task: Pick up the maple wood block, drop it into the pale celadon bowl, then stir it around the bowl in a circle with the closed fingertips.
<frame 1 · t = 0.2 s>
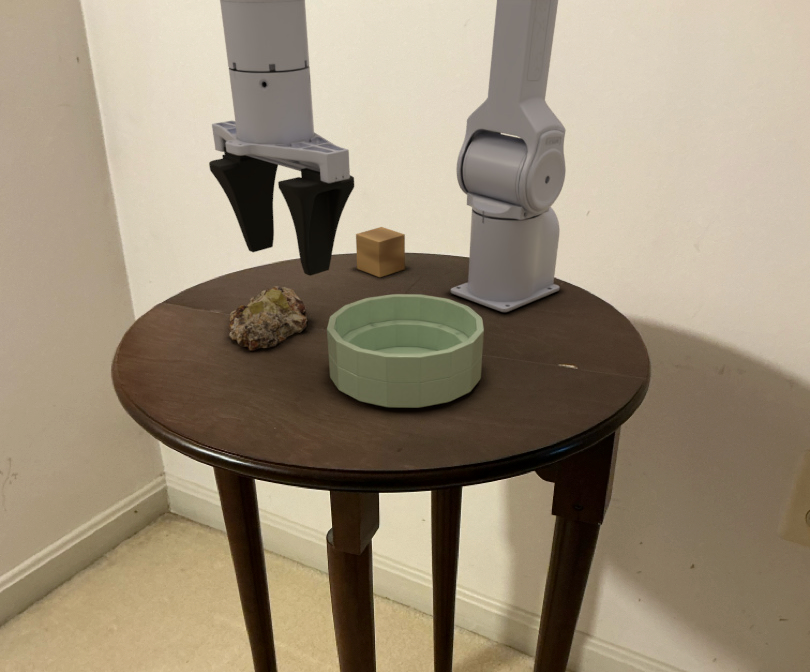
hand: (287, 260, 63), 10 cm above the table, tool pointing down, fingers open, 7 cm apart
bowl: (405, 376, 69), on the table
mineral rock: (266, 331, 77), on the table
block: (381, 269, 90), on the table
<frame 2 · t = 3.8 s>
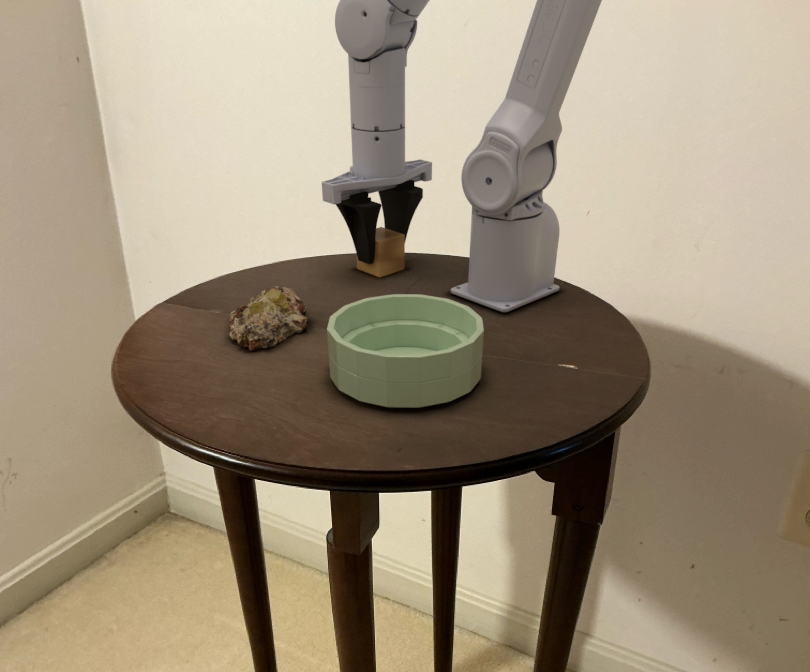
hand: (380, 257, 89), 1 cm above the table, tool pointing down, fingers closed on block, 4 cm apart
block: (380, 269, 90), on the table, touching gripper
everything else where it was.
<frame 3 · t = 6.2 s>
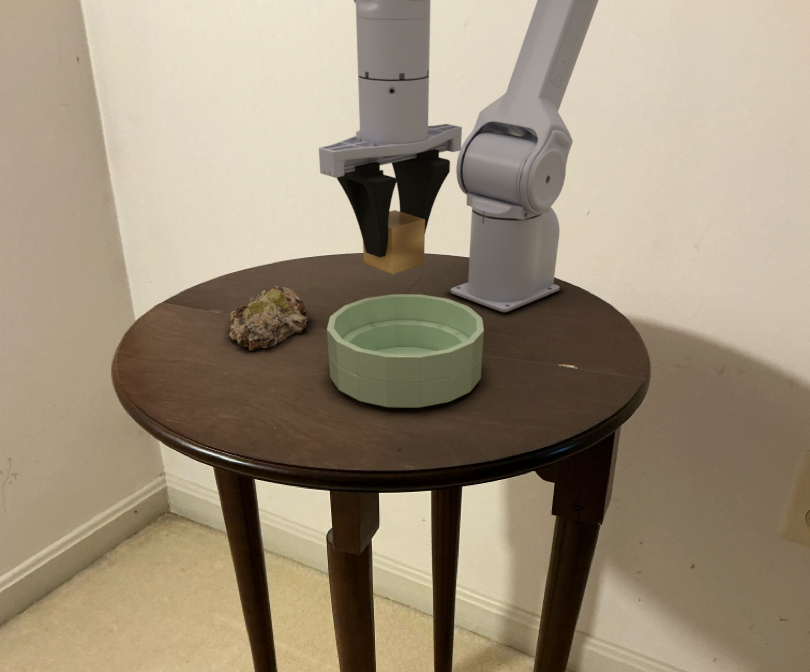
hand: (394, 248, 70), 8 cm above the table, tool pointing down, fingers closed on block, 4 cm apart
block: (393, 263, 71), point 7 cm above the table, touching gripper
everything else where it was.
when the fingers open (2 cm above the table, at t = 9.0 s): block stays where it is, resting on bowl.
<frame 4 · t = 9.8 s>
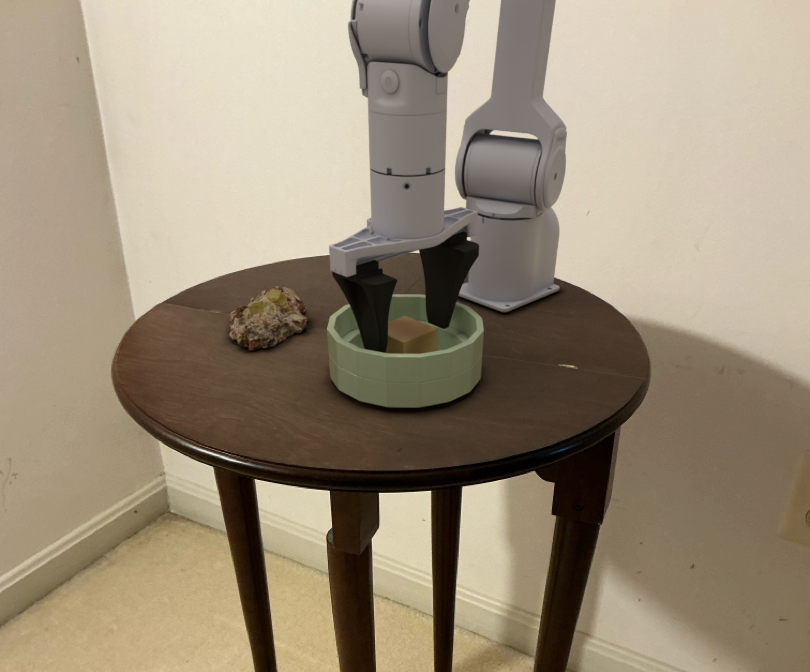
hand: (407, 337, 66), 4 cm above the table, tool pointing down, fingers open, 7 cm apart
block: (404, 371, 68), resting on bowl
everything else where it was.
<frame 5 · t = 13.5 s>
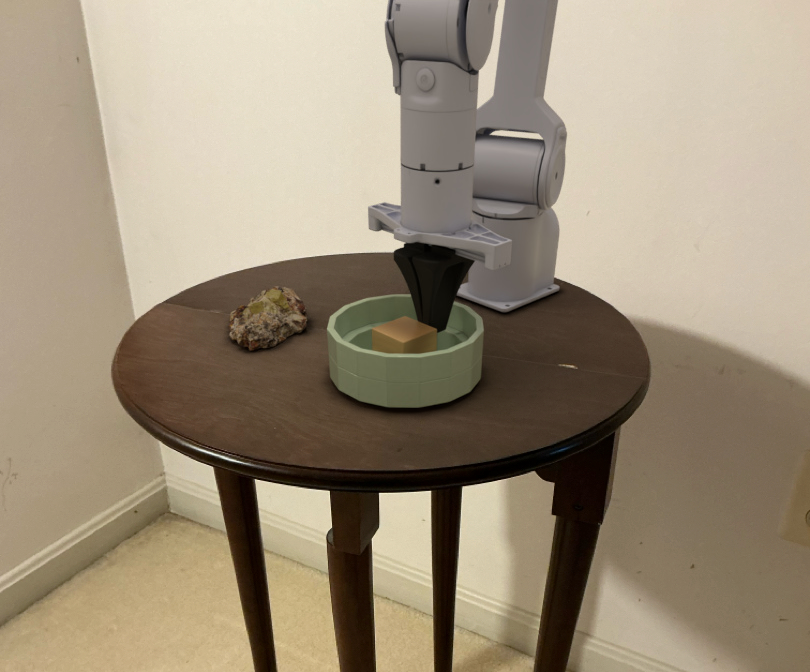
hand: (433, 330, 68), 3 cm above the table, tool pointing down, fingers closed, pressing on block
block: (404, 371, 68), resting on bowl, touching gripper
everything else where it was.
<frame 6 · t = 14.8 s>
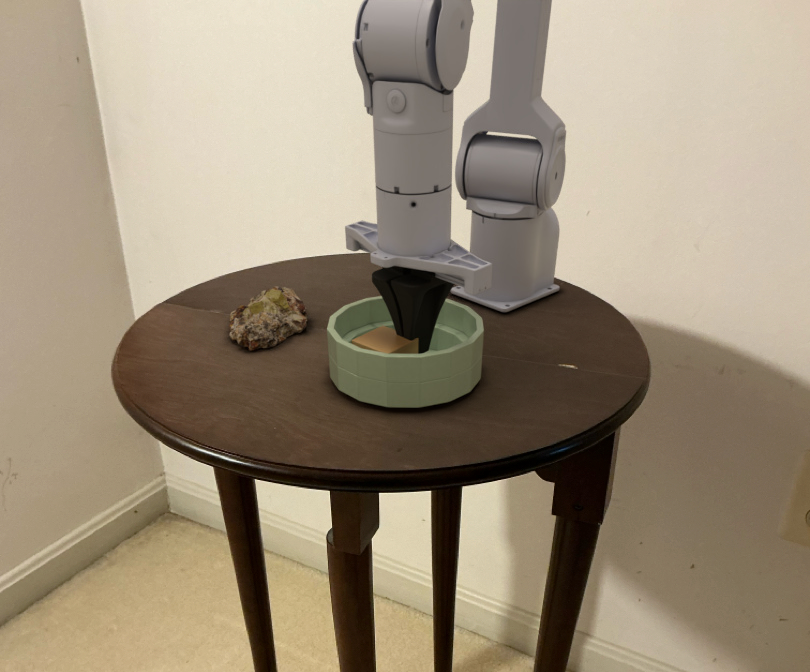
hand: (415, 351, 66), 3 cm above the table, tool pointing down, fingers closed, pressing on block
block: (385, 382, 67), point 1 cm above the table, touching bowl, gripper
everything else where it was.
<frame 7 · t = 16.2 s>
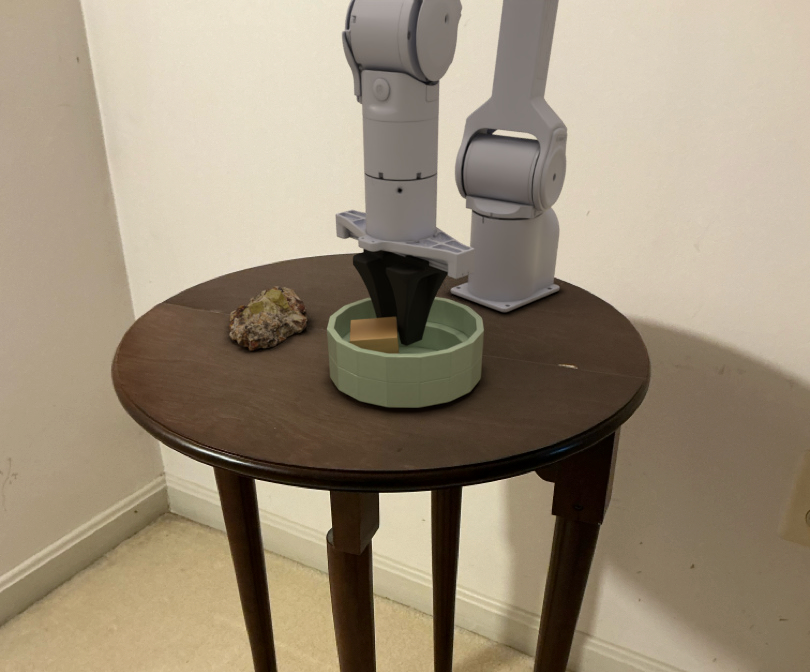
hand: (401, 337, 68), 3 cm above the table, tool pointing down, fingers closed, pressing on block
block: (377, 370, 68), point 1 cm above the table, touching gripper
everything else where it was.
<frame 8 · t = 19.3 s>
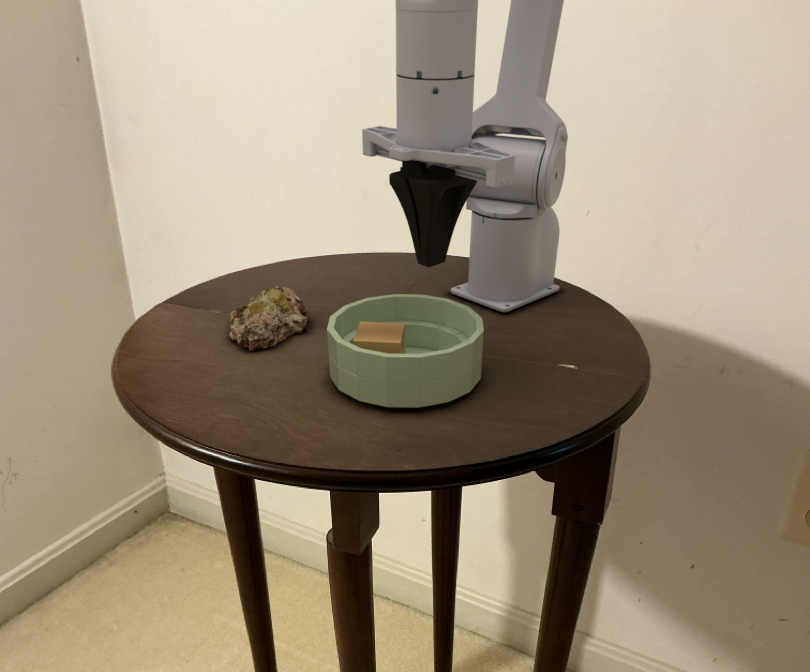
hand: (431, 262, 64), 9 cm above the table, tool pointing down, fingers closed
block: (380, 374, 68), point 1 cm above the table, touching bowl
everything else where it was.
at the end: block inside the target area in the bowl (2.3 cm from its centre), point 0.5 cm above the bowl's base; the gripper is holding nothing; mineral rock moved 0.2 cm from its start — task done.
